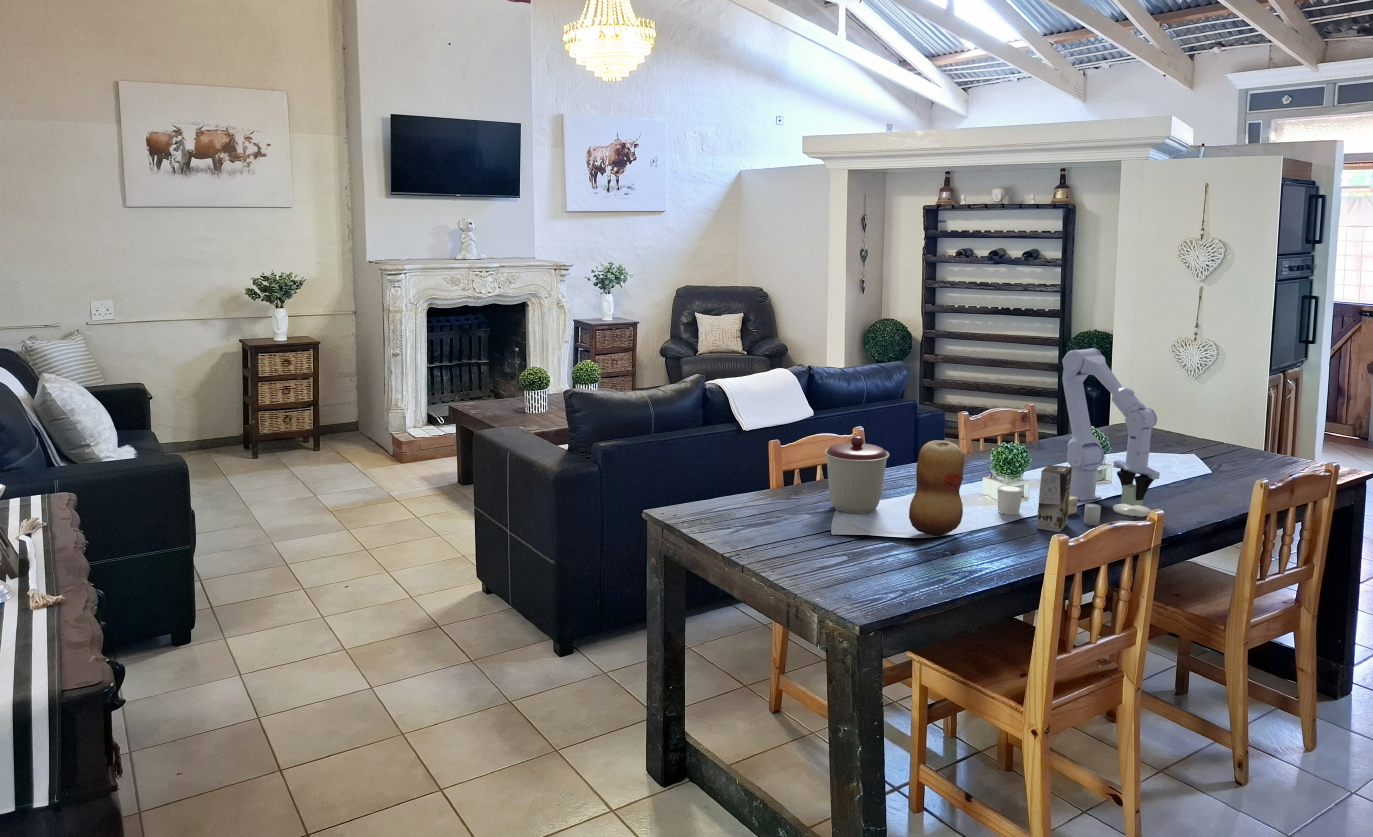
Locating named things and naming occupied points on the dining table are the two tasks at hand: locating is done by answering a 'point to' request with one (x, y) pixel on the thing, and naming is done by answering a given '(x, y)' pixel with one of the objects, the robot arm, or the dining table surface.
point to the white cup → (1009, 499)
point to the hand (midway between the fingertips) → (1133, 497)
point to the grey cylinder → (1092, 514)
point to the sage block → (1130, 495)
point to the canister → (855, 475)
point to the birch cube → (1072, 505)
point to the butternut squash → (938, 489)
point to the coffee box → (1054, 498)
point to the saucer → (1131, 510)
